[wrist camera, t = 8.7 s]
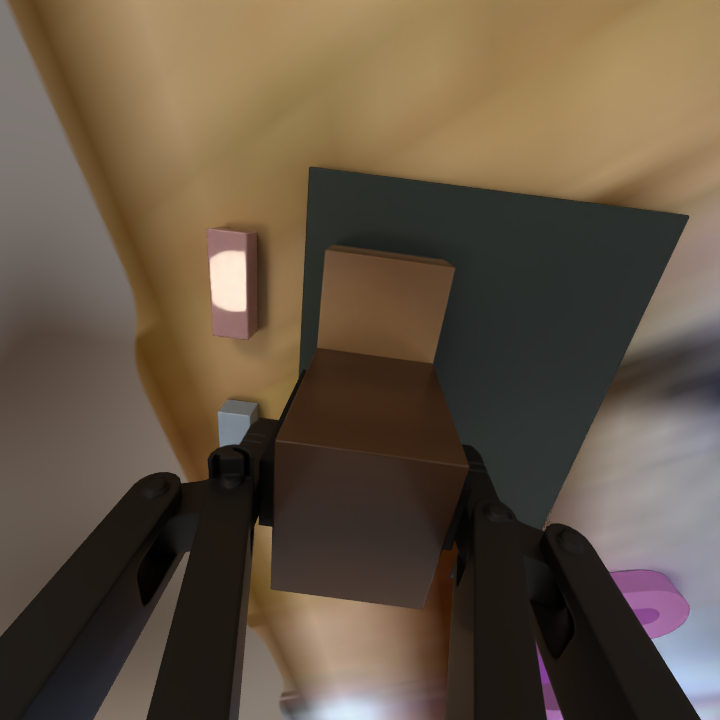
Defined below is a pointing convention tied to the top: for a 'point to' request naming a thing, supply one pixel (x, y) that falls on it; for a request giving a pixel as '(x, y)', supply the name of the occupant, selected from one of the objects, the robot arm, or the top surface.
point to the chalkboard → (506, 308)
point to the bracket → (651, 606)
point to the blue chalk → (235, 420)
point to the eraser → (369, 438)
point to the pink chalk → (233, 281)
